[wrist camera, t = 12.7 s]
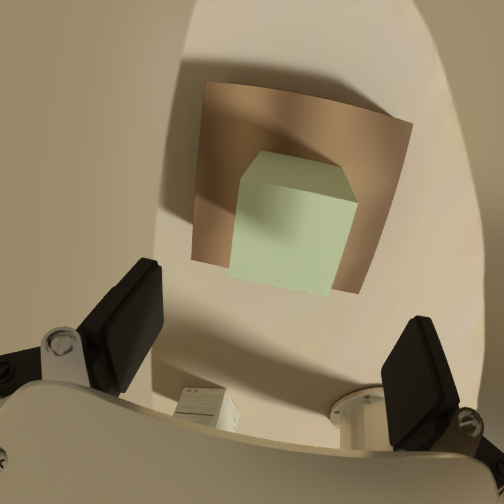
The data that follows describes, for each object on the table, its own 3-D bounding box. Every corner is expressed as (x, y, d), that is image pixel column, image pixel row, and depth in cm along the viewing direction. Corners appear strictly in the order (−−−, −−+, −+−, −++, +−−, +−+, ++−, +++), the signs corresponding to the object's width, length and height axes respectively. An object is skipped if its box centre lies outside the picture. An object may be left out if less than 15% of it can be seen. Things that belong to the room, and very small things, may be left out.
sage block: (341, 167, 19) (358, 202, 13) (323, 238, 22) (327, 297, 16) (261, 150, 20) (240, 178, 14) (249, 223, 23) (227, 276, 17)
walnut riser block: (393, 117, 21) (413, 123, 17) (352, 262, 28) (358, 294, 24) (224, 82, 22) (205, 81, 18) (208, 233, 29) (191, 259, 25)
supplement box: (241, 413, 45) (224, 481, 34) (199, 411, 47) (178, 474, 36) (227, 387, 41) (206, 463, 31) (182, 385, 43) (155, 454, 33)
